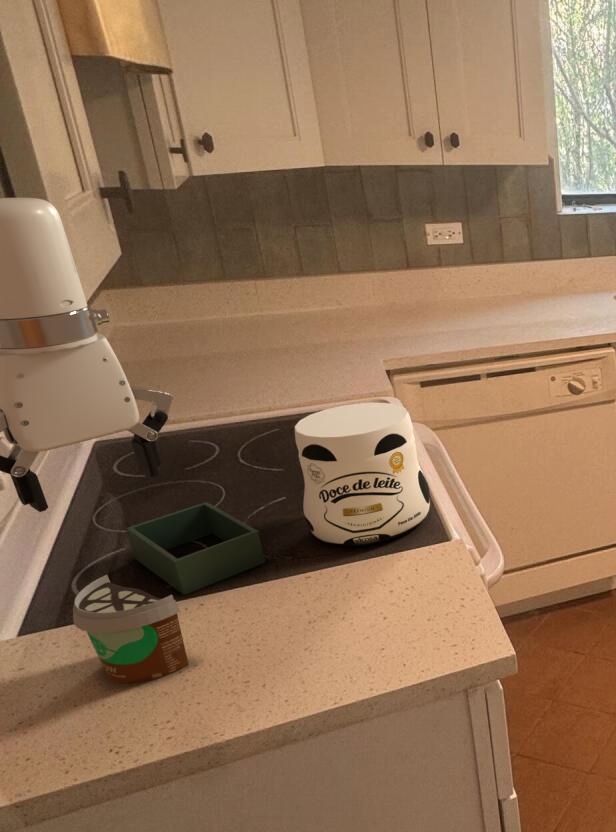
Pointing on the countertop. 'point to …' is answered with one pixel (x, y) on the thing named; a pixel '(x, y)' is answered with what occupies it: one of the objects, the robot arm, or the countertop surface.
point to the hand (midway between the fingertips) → (97, 490)
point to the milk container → (361, 474)
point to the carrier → (204, 564)
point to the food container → (131, 631)
